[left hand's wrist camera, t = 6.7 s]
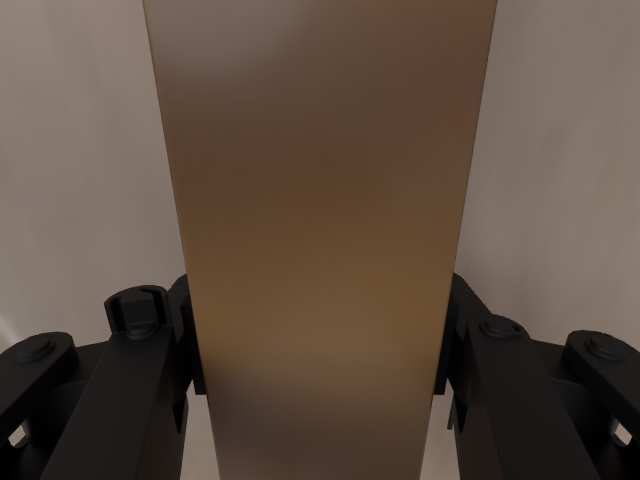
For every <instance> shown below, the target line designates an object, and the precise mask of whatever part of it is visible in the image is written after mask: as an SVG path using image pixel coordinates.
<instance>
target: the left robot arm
mask: <svg viewBox="0 0 640 480" xmlns="http://www.w3.org/2000/svg"><path fill="white" fill-rule="evenodd" d="M104 306H105V310H106V314H107V317H108V321H109V325H110V328H111V332H112V335H111V337H110V339H109V341H105V342H101V343H96V344H91V345H85V346H80V347H75V344H74V341H73V338H72V336H71V335H69V334H68V333H65V332H49V333H41V334H38V335H34V336H31V337H28V338H27V339H25V340H23V341H21V342H18V343H16V344H15V345H13V346H12V347H10V348H8V349H7V350H5V351H4V352H3V353H1V354H0V480H180V474H181V466H182V458H183V450H184V442H185V433H186V425H187V417H188V409H189V406H188V399H187V394H186V392H187V390H188V388H189V385H190V383H191V381H192V379H193V383H194V389H195V394H196V395H206V389H205V383H204V377H203V370H202V364H201V358H200V352H199V346H198V340H197V333H196V327H195V321H194V315H193V309H192V303H191V296H190V290H189V284H188V278H187V273H186V274H185V275H183V276H181V277H180V278H178V279H177V280H176V282H175V283H174V284H173V285H172V287H171V288H170V289H169V290H168V291H167V290H166V289H164V288H163V287H160V286H155V285H142V286H137V287H131V288H128V289H125V290H123V291H120V292H118V293H116V294H114V295H112V296H111V297H109V298H108V299H107V300H106V301H105V302H104ZM447 378H448V380H449V382H450V384H451V386H452V388H453V391H454V394H453V399H452V405H451V410H450V415H449V420H448V427H447V429H449V430H452V426H453V424H454V433H455V441H456V449H457V457H458V465H459V473H460V480H640V352H639V351H637V350H636V349H635V348H633V347H631V346H630V345H628V344H627V343H625V342H623V341H621V340H619V339H617V338H614V337H613V336H611V335H608V334H605V333H602V332H597V331H588V330H579V331H573V332H572V333H570V334H569V335H568V337H567V340H566V343H565V346H562V345H557V344H552V343H547V342H542V341H537V340H533V339H531V338H530V336H529V334H528V333H527V332H526V330H525V329H524V328H523V327H522V326H521V325H519V324H518V323H516V322H515V321H513V320H511V319H508V318H506V317H503V316H500V315H495V314H492V313H491V312H490V311H489V310H488V308H487V307H486V306H485V305H484V303H483V302H482V301H481V300H480V299H479V297H478V296H477V295H476V294H474V291H473V290H472V289H471V288H470V287H468V284H467V283H466V282H465V281H464V279H463V278H462V277H461V276H459V275H457V274H456V273H454V272H453V277H452V283H451V289H450V295H449V301H448V308H447V314H446V320H445V326H444V332H443V338H442V345H441V351H440V357H439V363H438V369H437V375H436V382H435V388H434V394H433V395H444V393H445V387H446V382H447ZM619 423H620V424H621V425H622V426H623V427H624V428H625V429H626V430H627V431H628V432H629V433H630V434H631V435H632V438H631V440H630V442H629V444H628V445H626V444H625V443H624V442H622V441H621V440H620V439H619V438H618V436H617V435H616V434H615V431H616V429H617V427H618V424H619ZM20 425H22V427H23V430H24V432H25V434H26V435H25V436H24V437H23V438H22V439H21V440H20V442H18V443H17V444H16V445H15V446H12V445H11V443H10V441H9V439H8V438H9V437H10V436H11V435H12V433H13V432H14V431H15V430H16V429H17V428H18V427H19V426H20Z"/></svg>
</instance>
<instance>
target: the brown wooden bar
mask: <svg viewBox="0 0 640 480" xmlns="http://www.w3.org/2000/svg"><path fill="white" fill-rule="evenodd" d="M142 1H143V7H144V13H145V19H146V25H147V32H148V38H149V44H150V50H151V56H152V62H153V69H154V75H155V81H156V87H157V93H158V99H159V106H160V112H161V118H162V124H163V130H164V136H165V142H166V149H167V155H168V161H169V167H170V173H171V179H172V186H173V192H174V198H175V204H176V210H177V216H178V223H179V229H180V235H181V241H182V247H183V253H184V259H185V266H186V272H187V278H188V284H189V290H190V296H191V303H192V309H193V315H194V321H195V327H196V333H197V340H198V346H199V352H200V358H201V364H202V370H203V377H204V383H205V389H206V395H207V401H208V407H209V413H210V420H211V426H212V432H213V438H214V444H215V450H216V457H217V463H218V469H219V475H220V480H420V474H421V468H422V462H423V456H424V449H425V443H426V437H427V431H428V425H429V419H430V412H431V406H432V400H433V394H434V388H435V382H436V375H437V369H438V363H439V357H440V351H441V345H442V338H443V332H444V326H445V320H446V314H447V308H448V301H449V295H450V289H451V283H452V277H453V271H454V265H455V258H456V252H457V246H458V240H459V234H460V228H461V221H462V215H463V209H464V203H465V197H466V191H467V184H468V178H469V172H470V166H471V160H472V154H473V147H474V141H475V135H476V129H477V123H478V117H479V110H480V104H481V98H482V92H483V86H484V80H485V74H486V67H487V61H488V55H489V49H490V43H491V37H492V30H493V24H494V18H495V12H496V6H497V0H142Z"/></svg>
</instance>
